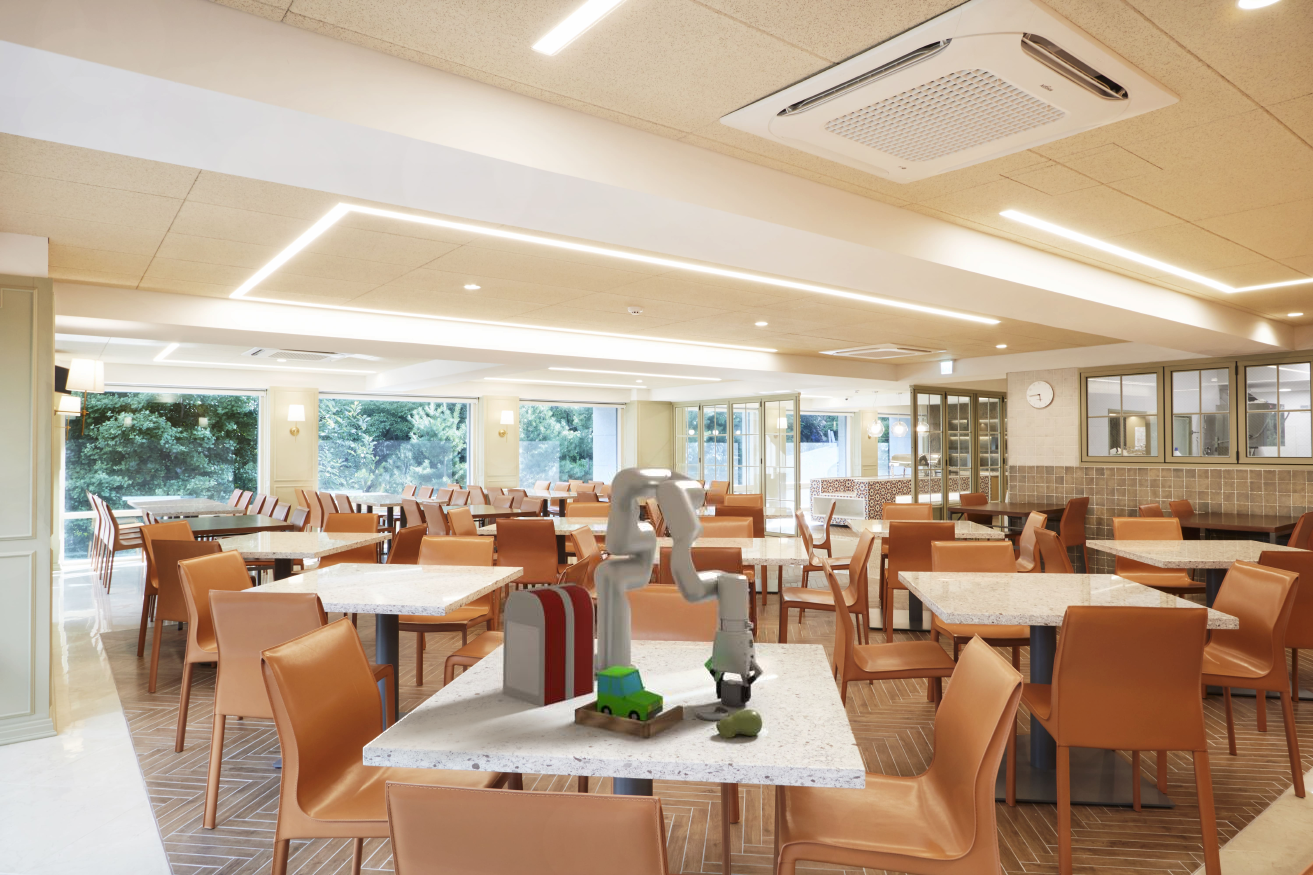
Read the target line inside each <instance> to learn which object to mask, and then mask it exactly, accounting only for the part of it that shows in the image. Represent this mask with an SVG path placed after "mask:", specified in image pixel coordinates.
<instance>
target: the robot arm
mask: <svg viewBox="0 0 1313 875" xmlns="http://www.w3.org/2000/svg"><path fill="white" fill-rule="evenodd" d="M704 490H705V489H703V486H702V485H701V484H700V483H699V481H697V480H695V479H693V478H691V477H689V476H686V475H685V474H682V473H680V472H678V471H676V470H673V469H670V468H666V467H650V466H646V467H645V466H636V467H634V466H633V467H626V468H624V469H623V468H622V469H621V470H620V471H618V472H617V473H616V474H615V475H614V477H613V479H612V482H611V487H610V507H609V512H608V519H607V525H606V531H605V540H604V545H605V547H604V548H605V550H606V551H607V552H608V554H610V555H611V556H612V555H613V556H620V557H618V558H610V559H606V560H604V561H602V562H600V563H599V564H597V566H596V567H595V569H594V573H593V581H594V587H595V592H596V605H597V606H596V607H597V609H596V611H597V615H596V616H597V623H596V624H597V625H596V626H597V627H596V628H597V631H596V632H597V633H596V636H597V637H596V638H597V640H596V641H597V642H596V646H597V647H596V651H597V652H596V653H595V652H594V675H597V673H599V672H602V671H604V670H607V669H609V668H612V667H614V666H622V667H628V668H635V669H637V667H636V665H635V664H633V663H631V662H632V659H631V658H632V657H631V656H632V655H631V653H632V651H631V650H632V646H631V645H632V642H631V641H632V629H631V628H632V611H631V610H632V609H631V604H630V601H629V598H628V597H627V594H626V592H629V591H630V592H631V591H637V590H641V589H644V588H645V587H646V586H648V584H649V582H650V580H651V578H652V577H651V576H652V572H653V566H654V561H655V555H656V549H657V533H656V531H655V529H654V527H653V525H652V524H651V523H650V522H647V521H643V520H639V519H640V514H641V507H640V503H639V500H638V499H656V502H657V503H658V507H659V510H660V512H661V514H662V517H663V519H664V521H665V525H666V526H667V529H668V532H669V534H670V536H671V539H672V545H671V551H670V558H669V560H670V562H669V564H670V567H669V568H670V572H671V575H672V578H673V580H674V583H675V585H676V588H677V590H678V592H679V594H680V595H681V597H682V598H683V599H684V600H685V601H686V602H688V603H690V604H700V603H706V602H713V601H717V628H716V629H715V631H714V636H713V643H712V653H711V654H712V656H710V658H709V659H707V661H706V662H705V663H704V667H705V668H706V669H707V670H708V672H709V674H710V675H711V677H712V678H713V681H714V682H715V693H716V699H717V700H721V682H722V681H725V680H726V679H724V677H725V674H726V673H728V674H734V675H740V677H741V681H743V686H742V703H744V704H745V703H748V702H750V700H751V697H752V684H753V683H755V681H757V679H759V678H760V677H761V676H762V675H763V674H764V671H763V669H762V668H761V667H760V665H759V664H758V663H757V660H756V658H757V657H756V649H755V647H756V646H755V641H754V640H755V639H754V636H753V631H751V630H750V629H754V622H751V621H750V618H749V612H750V611H749V579H748V577H747V576H746V575H745V574H741V573H728V572H726V571H723V570H719V569H711V570H710V569H709V570H702V571H697V570H696V567H695V565H694V563H693V560H692V554H691V550H692V546H693V543H694V542H695V541H697V540H699V538H700V537H701V536H702V535H703V533H704V527H703V524H702V522H701V519H700V518H699V516H698V514H697V510H699V509H701V508H702V507H703V504H705V499H706V493H705V491H704ZM621 556H628V557H621ZM750 672H754V673H753V674H752V675H751V673H750Z"/></svg>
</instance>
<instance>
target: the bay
mask: <svg viewBox="0 0 1313 875" xmlns="http://www.w3.org/2000/svg"><path fill="white" fill-rule="evenodd" d="M683 720H684V705H677V706H674V707H672V708H670V709H669V710H667V711H665V712H661V714H660V713H659V715H658V714H657V715H655V717H654V716H653V717H651V718H649V719H648V720H646V721H644V720H642V721H638V720H633V719H629V718H626V717H621V716H616V715H609V714H604V713H600V712H597V699H596V700H594V701H591V702H588V703H586V704H585V705H582V706H580V707H577V708H574V724H577V725H582V726H587V727H591V728H596V729H601V730H606V731H610V732H614V733H618V734H623V735H627V736H632V737H636V738H642V739H645V740H647V739H649V738H651V737H654V736H655V735H657V734H659V733H661V732H662V731H664V730H666V729H668V728H670V727H672V726H674V725H676V724H678V723H679V722H682V721H683Z"/></svg>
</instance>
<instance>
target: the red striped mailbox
mask: <svg viewBox="0 0 1313 875" xmlns="http://www.w3.org/2000/svg"><path fill="white" fill-rule="evenodd" d="M595 619H596V618H595V605H594V600H593V598H592V595H591V593H590V591H589V590H588V589H587V588H586V587H583V586H580V585H578V584H577V583H573V582H569V583H562V584H554V585H541V586H535V587H534V588H526V589H525V588H524V589H519V590H518V589H517V590H513V591H512V592H510V593H509V595H508V597H507V599H506V601H505V604H504V611H503V649H502V650H503V652H502V653H503V654H502V655H503V658H502V659H503V661H502V662H503V663H502V668H503V669H502V672H503V673H502V674H503V675H502V694H503V695H505V696H508V697H511V698H513V699H516V700H519V701H522V702H524V703H528V704H531V705H534V706H537V707H540V708H541V707H546V706H551V705H553V704H558V703H561V702H565V701H569V700H574V699H575V698H579V697H584V696H586V695H590V694H593V693H595V674H594V653H595V629H596V628H595V627H596V626H595V625H596V624H595V622H596V621H595Z"/></svg>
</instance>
